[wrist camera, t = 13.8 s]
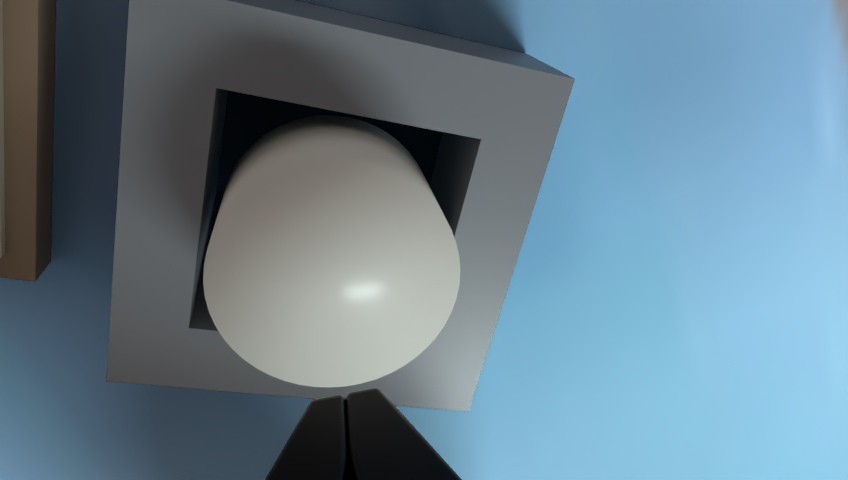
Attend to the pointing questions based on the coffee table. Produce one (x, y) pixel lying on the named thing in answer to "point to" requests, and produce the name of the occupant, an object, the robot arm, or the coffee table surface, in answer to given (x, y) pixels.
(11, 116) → the picture board
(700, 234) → the coffee table surface
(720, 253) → the coffee table surface
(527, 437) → the coffee table surface
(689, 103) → the coffee table surface
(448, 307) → the button
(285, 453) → the robot arm
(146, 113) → the button housing
